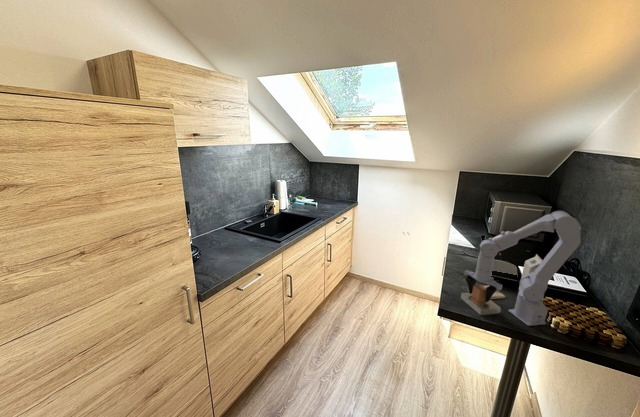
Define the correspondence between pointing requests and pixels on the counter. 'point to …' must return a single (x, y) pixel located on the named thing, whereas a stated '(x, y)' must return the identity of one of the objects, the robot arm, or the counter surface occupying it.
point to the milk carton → (530, 266)
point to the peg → (479, 293)
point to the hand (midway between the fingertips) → (479, 296)
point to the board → (496, 294)
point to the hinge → (504, 267)
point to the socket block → (481, 305)
